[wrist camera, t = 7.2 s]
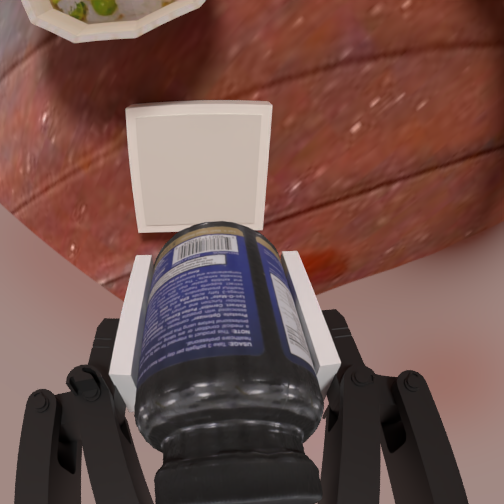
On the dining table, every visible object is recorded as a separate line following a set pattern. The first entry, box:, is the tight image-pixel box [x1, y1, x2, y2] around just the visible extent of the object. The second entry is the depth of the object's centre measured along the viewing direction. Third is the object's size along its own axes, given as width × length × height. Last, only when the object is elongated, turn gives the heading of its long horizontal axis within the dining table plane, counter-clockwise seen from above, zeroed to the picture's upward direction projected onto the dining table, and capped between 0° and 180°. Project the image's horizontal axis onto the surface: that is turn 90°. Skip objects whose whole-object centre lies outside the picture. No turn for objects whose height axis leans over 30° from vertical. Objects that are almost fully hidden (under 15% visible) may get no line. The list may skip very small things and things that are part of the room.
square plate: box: [125, 100, 272, 233], centre depth 32 cm, size 14×14×3 cm
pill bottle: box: [134, 221, 324, 504], centre depth 11 cm, size 6×6×11 cm
